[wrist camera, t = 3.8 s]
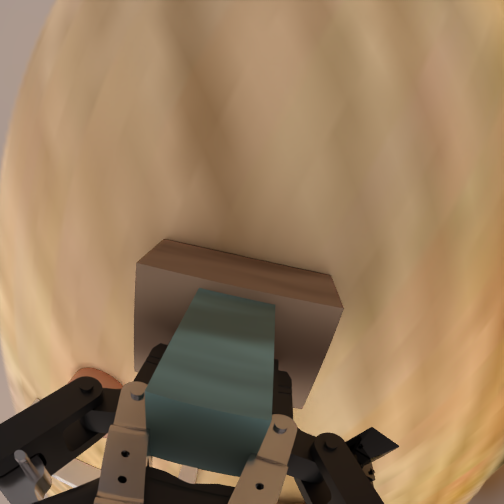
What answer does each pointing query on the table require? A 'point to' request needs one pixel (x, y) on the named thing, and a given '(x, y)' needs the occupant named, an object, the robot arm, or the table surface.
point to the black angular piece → (370, 449)
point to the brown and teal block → (225, 348)
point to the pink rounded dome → (101, 376)
